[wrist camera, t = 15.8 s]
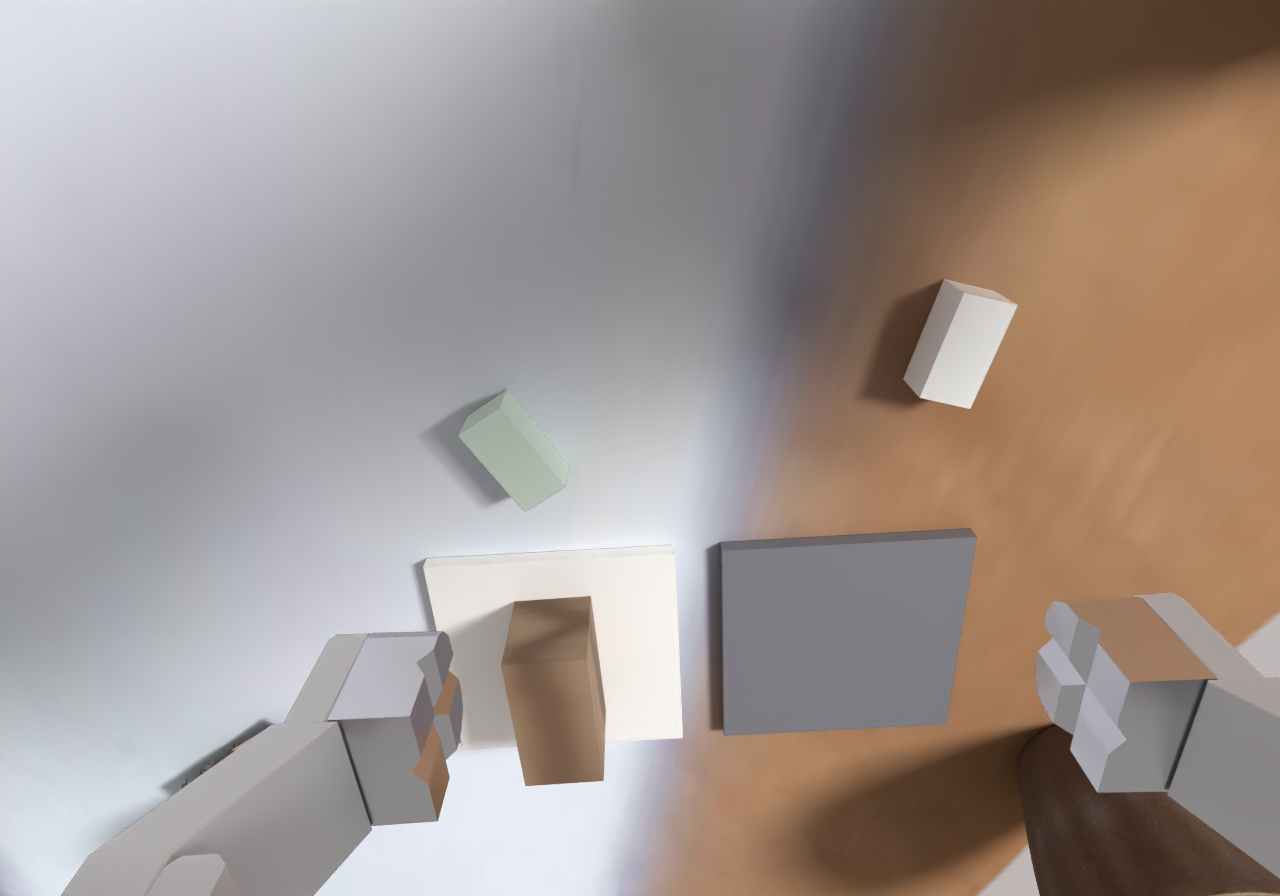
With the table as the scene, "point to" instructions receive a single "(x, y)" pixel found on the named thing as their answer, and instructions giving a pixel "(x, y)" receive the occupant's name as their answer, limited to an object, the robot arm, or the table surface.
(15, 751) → the table surface
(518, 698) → the walnut brick
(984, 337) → the pale grey brick
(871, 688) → the charcoal mat
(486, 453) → the sage brick
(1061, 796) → the plant pot
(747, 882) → the table surface
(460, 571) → the off-white mat
